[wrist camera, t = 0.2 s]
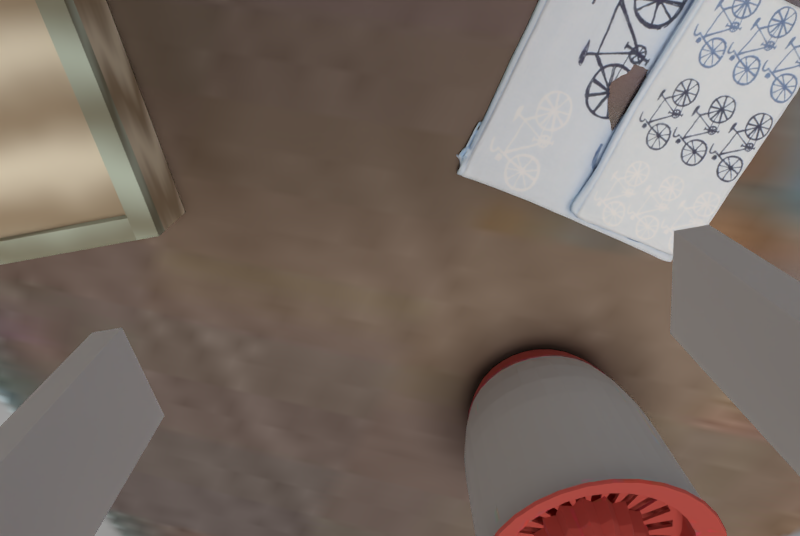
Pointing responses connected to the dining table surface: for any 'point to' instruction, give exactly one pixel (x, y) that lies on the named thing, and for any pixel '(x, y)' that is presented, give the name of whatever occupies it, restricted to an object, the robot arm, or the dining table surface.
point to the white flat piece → (637, 111)
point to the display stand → (74, 135)
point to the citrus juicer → (572, 457)
